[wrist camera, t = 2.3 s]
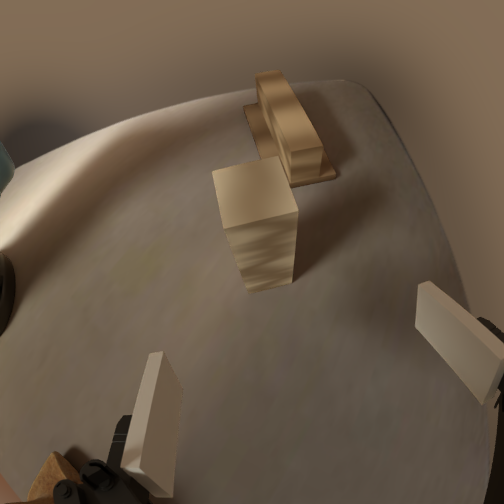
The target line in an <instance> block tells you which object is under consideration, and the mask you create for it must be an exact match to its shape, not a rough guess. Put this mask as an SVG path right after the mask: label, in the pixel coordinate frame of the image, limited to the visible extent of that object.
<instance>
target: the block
mask: <svg viewBox="0 0 504 504" xmlns="http://www.w3.org/2000/svg"><path fill="white" fill-rule="evenodd" d="M212 174H213V179H214V184H215V189H216V194H217V199H218V204H219V209H220V214H221V218H222V223H223V228H224V231H225V234H226V236H227V239H228V242H229V244H230V247H231V250H232V252H233V255H234V257H235V260H236V263H237V265H238V268H239V271H240V273H241V276H242V278H243V281H244V283H245V286H246V289H247V291H248V294H251V293H256V292H260V291H264V290H268V289H272V288H276V287H280V286H283V285H287V284H291V283H292V277H293V268H294V257H295V247H296V236H297V225H298V213H299V210H298V208H297V205H296V202H295V199H294V197H293V194H292V191H291V188H290V186H289V183H288V180H287V178H286V175H285V172H284V170H283V167H282V165H281V162H280V159H279V157H278V156H275V157H270V158H266V159H261V160H257V161H252V162H248V163H244V164H239V165H235V166H231V167H227V168H223V169H219V170H215V171H212Z"/></svg>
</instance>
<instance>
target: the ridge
mask: <svg viewBox="0 0 504 504" xmlns="http://www.w3.org/2000/svg"><path fill="white" fill-rule="evenodd" d="M255 79H256V89H257V98H258V103H256V104H251V105H246V106H243V108H244V112H245V115H246V118H247V121H248V124H249V126H250V129H251V132H252V135H253V138H254V141H255V144H256V146H257V149H258V152H259V155H260V158H261V159H266V158H270V157H275V156H278V157H279V159H280V162H281V165H282V167H283V170H284V172H285V175H286V178H287V180H288V183H289V186H290V188H295V187H300V186H304V185H309V184H314V183H319V182H323V181H328V180H333V179H335V178H336V173H335V170H334V168H333V166H332V164H331V162H330V160H329V158H328V156H327V154H326V152H325V150H324V149H323V144H322V142H321V140H320V139H319V137H318V135H317V133H316V131H315V129H314V127H313V126H312V124H311V122H310V120H309V118H308V117H307V115H306V113H305V111H304V110H303V108H302V106H301V104H300V103H299V101H298V99H297V97H296V96H295V94H294V92H293V91H292V89H291V87H290V86H289V84H288V83H287V81H286V79H285V78H284V76H283V74H282V73H281V71H280V70H274V71H268V72H261V73H256V74H255Z"/></svg>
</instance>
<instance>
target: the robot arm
mask: <svg viewBox="0 0 504 504" xmlns="http://www.w3.org/2000/svg"><path fill="white" fill-rule="evenodd" d="M14 170H15V169H14V164H13V162H12V160H11V158H10V156H9V155H8V153H7V151H6V150H5V148H4V146H3V145H2V143H1V142H0V196H1V193H2V192H3V190H4V189H5V188H6V186H7V185H8V184H9V182H10V181H11V180H12V178H13V175H14ZM14 293H15V275H14V270H13V266H12V264H11V262H10V260H9V259H8V258H7V257H6V256H5V255H3V254H1V253H0V335H1V333H2V332H3V330H4V328H5V326H6V324H7V322H8V319H9V316H10V313H11V310H12V306H13V301H14ZM415 327H416V329H417V330H418V331H419V332H420V333H421V334H422V335H423V336H424V337H425V338H426V340H427V341H428V342H429V343H430V344H431V345H432V346H433V347H434V349H435V350H436V351H437V352H438V353H439V354H440V355H441V357H442V358H443V359H444V360H445V361H446V362H447V364H448V365H449V366H450V367H451V368H452V369H453V371H454V372H455V373H456V374H457V375H458V377H459V378H460V379H461V380H462V381H463V383H464V384H465V385H466V386H467V387H468V389H469V390H470V391H471V392H472V394H473V395H474V396H475V397H476V399H477V400H478V401H479V402H480V404H481V405H483V404H484V403H486V402H487V401H489V400H490V399H491V398H493V397H494V395H495V392H496V390H497V388H498V389H499V390H500V391H501V393H500V396H499V397H498V399H497V401H496V403H495V406H494V408H496V407H497V405H498V403H499V412H498V425H497V436H496V444H495V451H494V457H493V463H492V469H491V474H490V479H489V483H488V488H487V492H486V496H485V500H484V504H504V333H502V332H501V330H499V329H498V328H496V326H495V325H494V324H492V323H491V322H490V321H489V320H486V319H484V318H482V317H479V318H477V319H476V318H474V317H473V316H472V315H471V314H470V313H469V312H467V311H466V310H465V309H464V308H463V307H461V306H460V305H459V304H458V303H457V302H455V301H454V300H453V299H452V298H451V297H449V296H448V295H447V294H446V293H444V292H443V291H442V290H441V289H439V288H438V287H437V286H436V285H434V284H433V283H432V282H430V281H427V282H424V283H421V284H418V294H417V309H416V321H415ZM182 395H183V388H182V386H181V384H180V382H179V380H178V378H177V377H176V375H175V373H174V371H173V369H172V367H171V365H170V363H169V361H168V359H167V357H166V355H165V353H164V351H162V352H156V353H150V354H149V357H148V361H147V364H146V367H145V371H144V374H143V378H142V381H141V385H140V389H139V392H138V396H137V400H136V403H135V407H134V411H133V415H124V416H123V417H122V418H121V419H120V421H119V422H118V424H117V426H116V430H115V433H114V434H115V435H114V437H113V440H112V441H113V443H112V444H111V448H110V452H109V456H108V460H107V463H104V462H103V461H101V460H91V461H88V462H87V463H85V464H84V465H83V466H82V468H81V470H80V474H79V477H80V481H81V482H83V484H75V483H74V482H73V481H72V480H69V479H62V480H60V481H58V482H57V484H56V485H55V486H54V489H53V499H54V504H153V503H152V502H151V501H150V500H149V499H148V498H149V492H150V493H151V494H152V495H153V496H155V497H163V498H173V489H174V475H175V463H176V452H177V441H178V431H179V421H180V412H181V403H182Z"/></svg>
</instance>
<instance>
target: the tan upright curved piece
mask: <svg viewBox="0 0 504 504" xmlns="http://www.w3.org/2000/svg"><path fill="white" fill-rule="evenodd" d="M62 479H69V480H72V481H73V482H74V483H75V484H83V482H81V481H80V477H79V473H78V472H77V470H76V469H75V468H74V467H73V466H71V464H70V463H69V462H68V461H67V460H66V459H65V458H64V457H63V456H62V455H61V454H60V453H58V452H56V451H54V452H52V453H51V455H50V456H49V457H48V459H47V460H46V462H45V463H44V465H43V466H42V468H41V470H40V472H39V474H38V475H37V477H36V479H35V480H34V482H33V484H32V486H31V489H30V491H29V494H28V499H27V501H28V502H16V503H6V504H54V499H53V489H54V486H55V485H56V484H57V482H58V481H60V480H62Z"/></svg>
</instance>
